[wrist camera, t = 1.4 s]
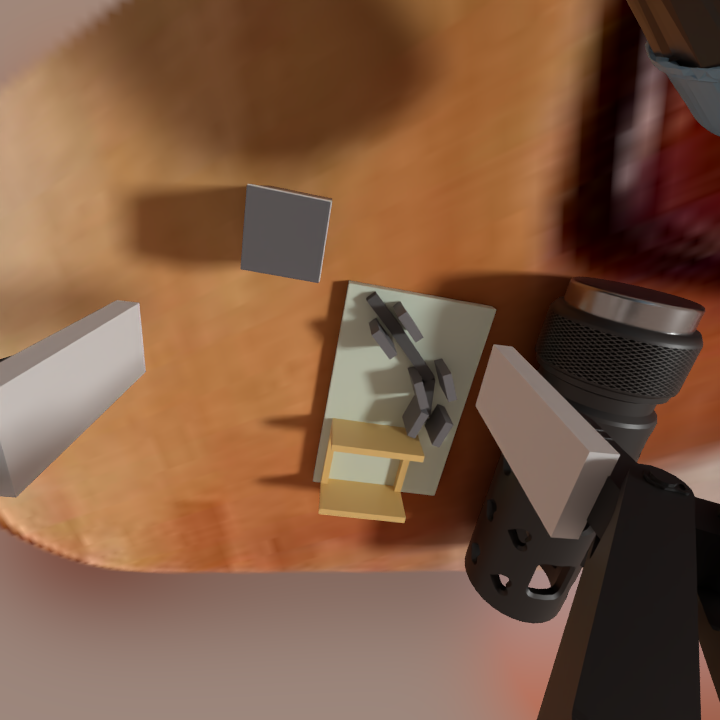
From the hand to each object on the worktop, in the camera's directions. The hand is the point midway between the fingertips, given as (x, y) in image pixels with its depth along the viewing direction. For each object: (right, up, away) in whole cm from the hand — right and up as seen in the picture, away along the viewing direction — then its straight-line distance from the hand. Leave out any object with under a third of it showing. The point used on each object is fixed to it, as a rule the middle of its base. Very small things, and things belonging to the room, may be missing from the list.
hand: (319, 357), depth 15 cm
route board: (+5, -3, +21) cm, 22 cm away
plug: (-3, +10, +15) cm, 18 cm away
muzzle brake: (+18, -6, +23) cm, 30 cm away
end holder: (+2, -9, +23) cm, 24 cm away
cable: (+5, 0, +18) cm, 19 cm away
